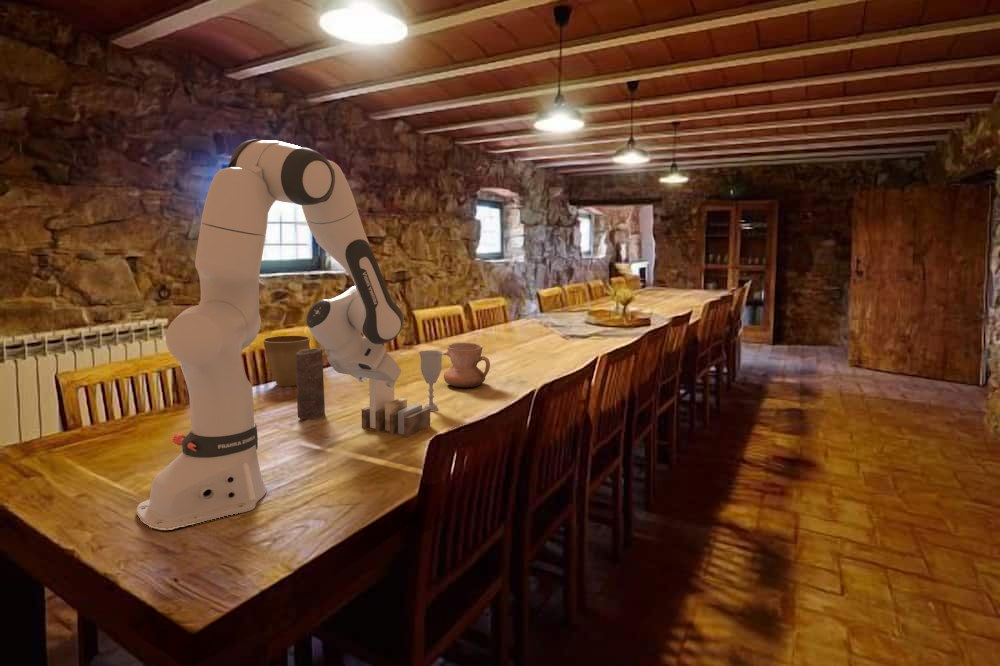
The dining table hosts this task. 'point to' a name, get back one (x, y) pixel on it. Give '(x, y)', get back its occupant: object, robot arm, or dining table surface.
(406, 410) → the offcut
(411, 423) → the rack
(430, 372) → the chalice
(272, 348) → the plant pot
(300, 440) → the dining table surface
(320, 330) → the robot arm
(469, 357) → the ceramic jug
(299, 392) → the dark stone block
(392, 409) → the offcut
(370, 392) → the tall board
